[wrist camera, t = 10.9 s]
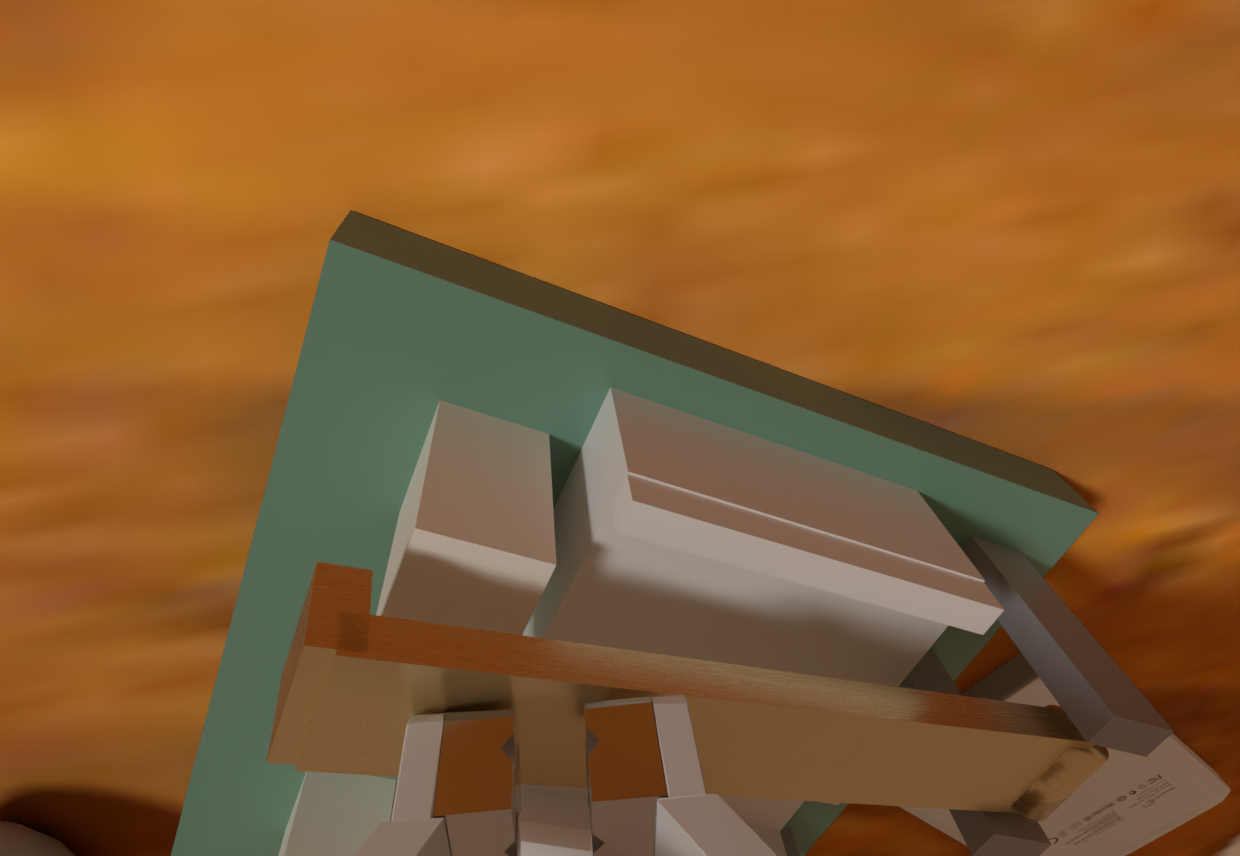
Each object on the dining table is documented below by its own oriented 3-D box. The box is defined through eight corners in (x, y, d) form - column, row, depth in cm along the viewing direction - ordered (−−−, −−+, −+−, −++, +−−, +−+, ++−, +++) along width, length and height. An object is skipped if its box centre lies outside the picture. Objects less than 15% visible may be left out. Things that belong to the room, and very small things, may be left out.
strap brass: (998, 747, 19) (1054, 827, 17) (282, 673, 12) (261, 788, 11) (1062, 680, 18) (1129, 758, 16) (316, 561, 11) (300, 669, 10)
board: (722, 881, 30) (776, 1131, 23) (192, 804, 24) (74, 1101, 18) (1052, 469, 21) (1281, 685, 15) (350, 210, 16) (233, 373, 9)
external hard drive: (1044, 615, 25) (1206, 759, 30) (849, 752, 28) (1029, 863, 33) (1075, 653, 24) (1239, 797, 29) (867, 793, 26) (1051, 903, 31)
